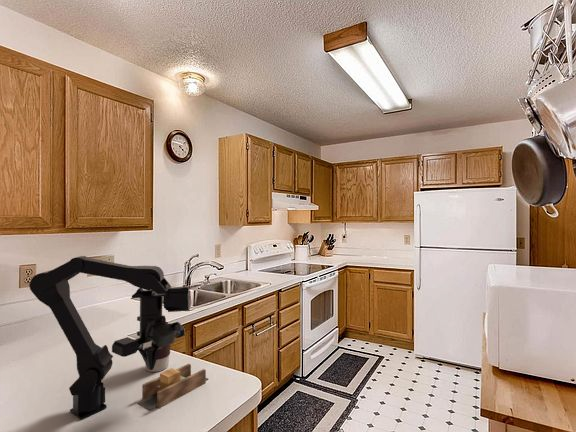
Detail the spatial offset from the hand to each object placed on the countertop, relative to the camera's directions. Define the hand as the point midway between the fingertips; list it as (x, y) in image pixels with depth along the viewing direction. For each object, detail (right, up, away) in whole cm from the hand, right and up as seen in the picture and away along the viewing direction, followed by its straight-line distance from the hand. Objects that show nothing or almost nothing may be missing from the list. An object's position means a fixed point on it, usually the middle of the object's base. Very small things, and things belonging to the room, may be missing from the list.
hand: (150, 369), depth 88 cm
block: (+4, -7, +5) cm, 9 cm away
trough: (+5, -9, +6) cm, 12 cm away
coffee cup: (-7, -10, +21) cm, 25 cm away
